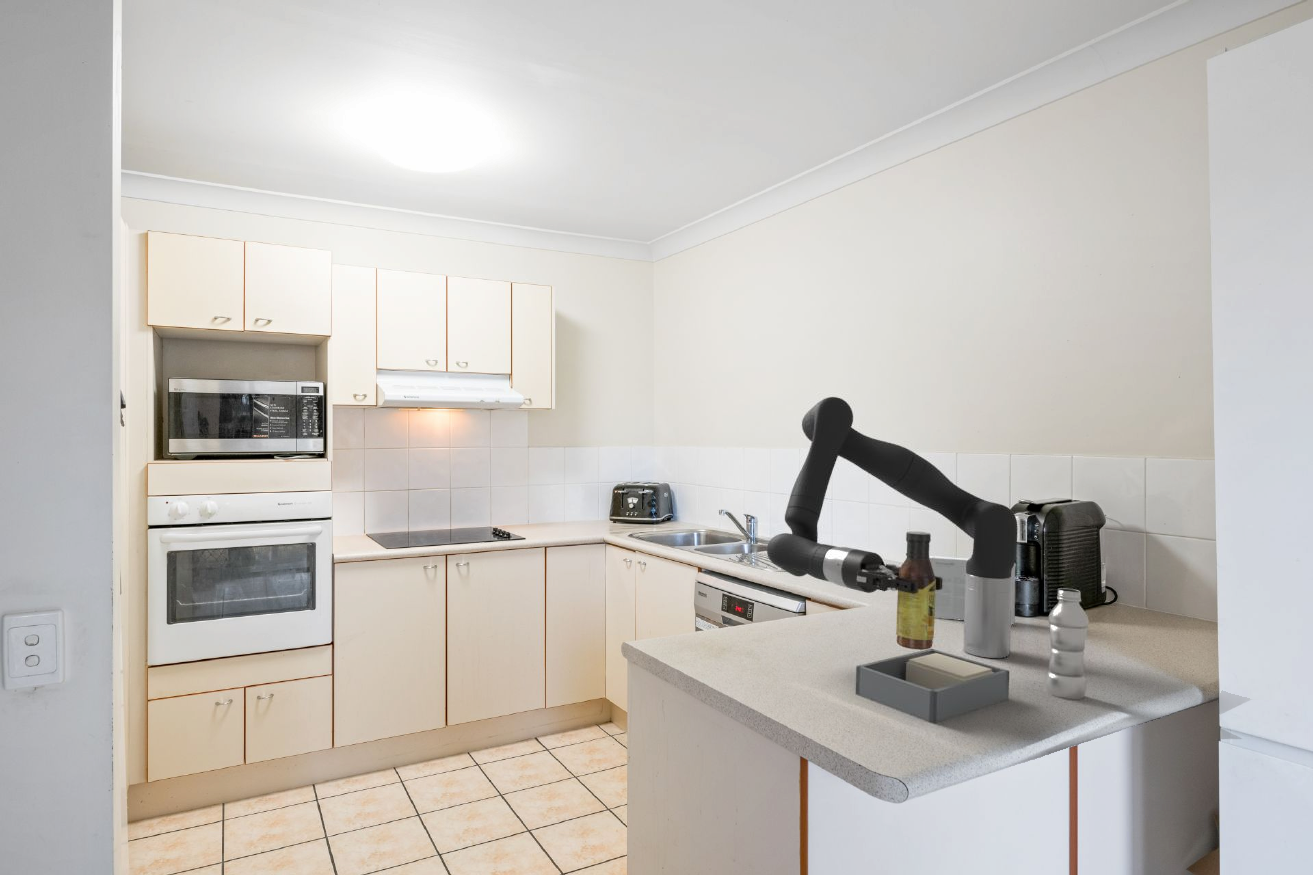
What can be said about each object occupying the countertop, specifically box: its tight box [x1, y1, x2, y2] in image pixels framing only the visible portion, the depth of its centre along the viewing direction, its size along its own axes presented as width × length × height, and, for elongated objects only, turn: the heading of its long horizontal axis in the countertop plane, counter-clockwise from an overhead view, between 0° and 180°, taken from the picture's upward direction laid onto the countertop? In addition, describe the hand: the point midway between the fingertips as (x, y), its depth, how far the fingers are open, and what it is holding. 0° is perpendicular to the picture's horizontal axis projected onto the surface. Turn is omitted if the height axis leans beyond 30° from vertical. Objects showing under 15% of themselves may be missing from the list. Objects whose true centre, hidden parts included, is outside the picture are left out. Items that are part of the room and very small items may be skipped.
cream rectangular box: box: [906, 653, 994, 690], centre depth 140 cm, size 9×12×5 cm
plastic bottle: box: [1045, 587, 1090, 700], centre depth 140 cm, size 6×7×20 cm
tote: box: [855, 648, 1010, 725], centre depth 137 cm, size 22×16×6 cm
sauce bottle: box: [895, 531, 936, 651], centre depth 134 cm, size 6×6×20 cm
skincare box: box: [929, 555, 1017, 624], centre depth 200 cm, size 21×5×16 cm, turn 71°
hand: (929, 585), depth 132 cm, fingers closed on sauce bottle, 6 cm apart
